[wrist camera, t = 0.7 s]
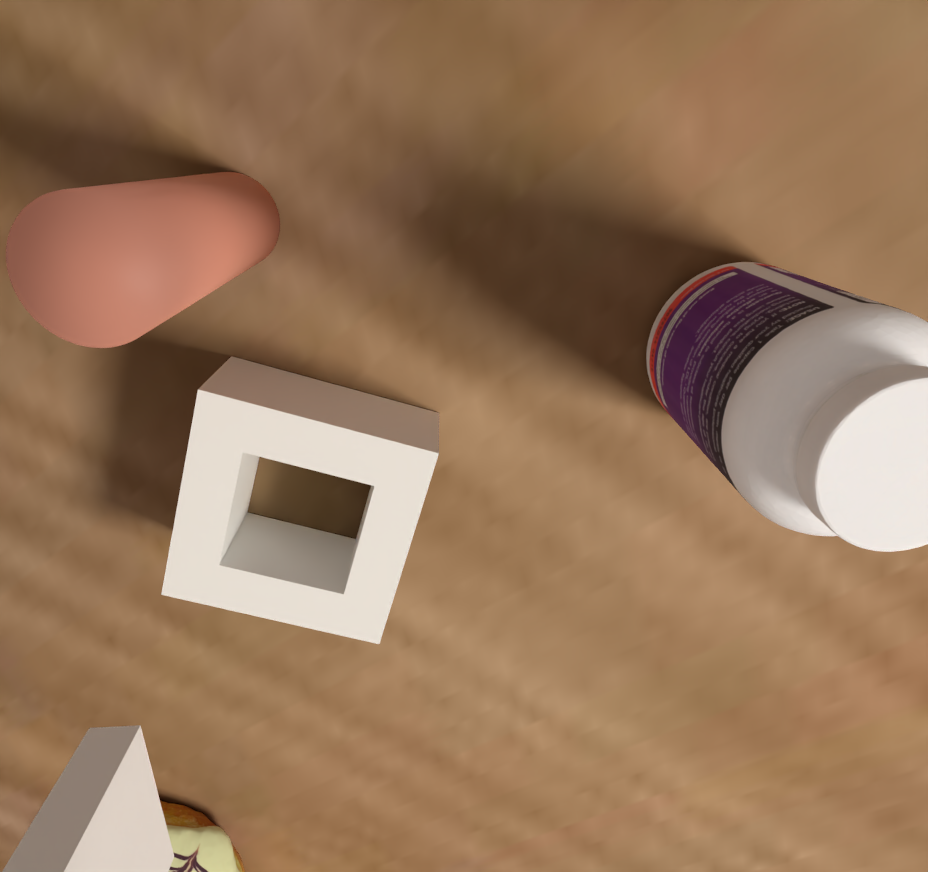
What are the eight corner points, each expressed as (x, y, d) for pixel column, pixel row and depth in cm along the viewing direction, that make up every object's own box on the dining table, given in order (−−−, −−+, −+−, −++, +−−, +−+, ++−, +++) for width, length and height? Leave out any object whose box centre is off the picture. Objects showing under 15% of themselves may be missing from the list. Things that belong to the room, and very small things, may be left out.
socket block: (231, 356, 34) (198, 389, 29) (439, 413, 35) (438, 453, 30) (196, 538, 37) (161, 594, 33) (386, 584, 39) (379, 644, 34)
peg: (194, 159, 31) (12, 167, 18) (288, 188, 31) (179, 216, 18) (179, 252, 32) (0, 323, 19) (270, 278, 33) (155, 365, 20)
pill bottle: (643, 434, 36) (763, 606, 22) (637, 270, 33) (770, 354, 20) (808, 413, 36) (1028, 573, 22) (817, 246, 33) (1076, 315, 19)
